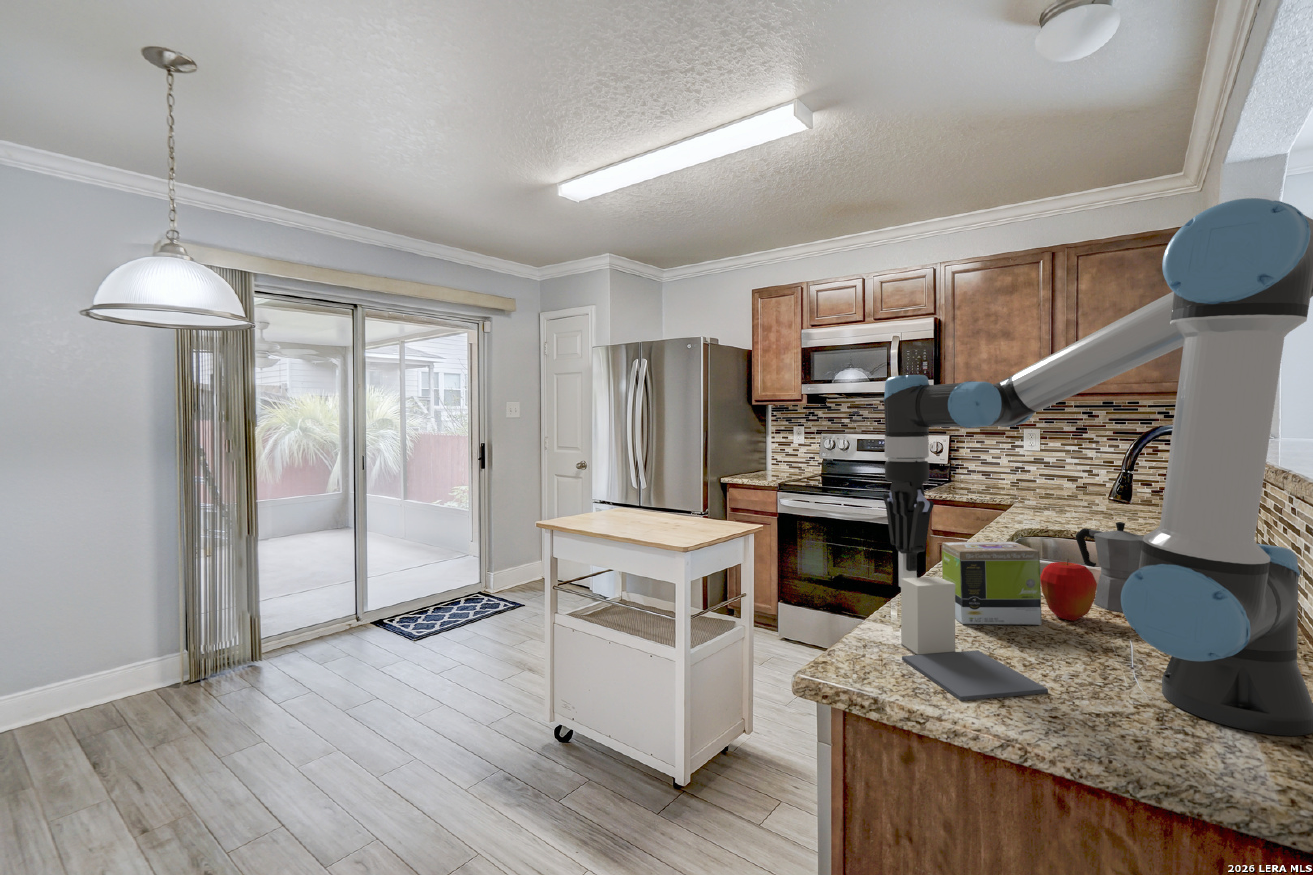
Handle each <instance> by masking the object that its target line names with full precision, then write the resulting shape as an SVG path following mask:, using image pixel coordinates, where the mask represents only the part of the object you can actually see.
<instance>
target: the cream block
mask: <svg viewBox="0 0 1313 875" xmlns="http://www.w3.org/2000/svg"><path fill="white" fill-rule="evenodd" d="M900 610H901V611H900V617H901V618H900V620H901V621H900V624H901V628H900V629H901V632H900V633H901V634H900V636H901V640H900V641H901V642H900V644H901V646H902V648H905V649H906V650H907V651H909V652H911V653H913V655H923V654H936V653H949V652H956V619H955V584H954V583H952V582H950V581H947V580H945V579H943V577H940V576H921V577H917V578H901V587H900Z"/></svg>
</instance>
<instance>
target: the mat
mask: <svg viewBox="0 0 1313 875" xmlns="http://www.w3.org/2000/svg"><path fill="white" fill-rule="evenodd" d="M901 660H902V662H905V663H906V664H907V665H909V666H910V667H912V668H914V669H915V670H916V671H917V672H919V673H920V674H921V675H924V676H925V677H926V678H927V679H929V680H930V681H932V682H933V683H935V684H936V685H938V686H939V687H941V689H943V690H944V691H946V692H947V693H948V694H950V695H952V697H954V698H956V699H957V700H959V701H961V702H963V701H973V700H984V699H986V700H987V699H996V698H1005V697H1006V698H1007V697H1008V698H1009V697H1019V696H1028V695H1037V694H1039V695H1040V694H1048V693H1049V688H1048V687H1045V685H1042V684H1041V683H1039V682H1036V681H1035V680H1033V679H1031V678H1029V677H1027V676H1026V675H1024V674H1022V673H1020V672H1018V671H1017V670H1015V669H1013V668H1011V667H1009V666H1008V665H1006V664H1004V663H1002V662H1001V661H998V660H996V659H994V658H993V657H991V656H989V655H988V654H986V653H983V652H981V651H980V650H976V649H975V650H966V651H965V650H964V651H955V652H949V653H936V654H923V655H915V654H912V655H901Z"/></svg>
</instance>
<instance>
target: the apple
mask: <svg viewBox="0 0 1313 875" xmlns="http://www.w3.org/2000/svg"><path fill="white" fill-rule="evenodd" d="M1040 581H1041V592H1042V593H1041V594H1042V595H1043V597H1044V599H1045V602H1046V604H1047V607H1048V609H1049V610H1050V611H1051V612H1052V613H1053V614H1054V615H1055V616H1056V617H1058V618H1060V619H1062V620H1067V621H1077V620H1080V619H1081V618H1083V617H1084V616H1086V615H1088V614H1089V612H1090V610H1091V608H1092V606H1093V603H1094V601H1095V596H1096V591H1097V587H1098V583H1097V581H1096V579H1095V576H1094V574H1093V572H1092V571H1091V570H1090V569H1089V568H1088V567H1087V565H1086V566H1085V565H1082V564H1080V563H1073V562H1069V558H1067V561H1053V562H1050V563H1049V564H1047V565H1046V566H1045V567H1044V568H1043V569H1042V571H1041V572H1040Z"/></svg>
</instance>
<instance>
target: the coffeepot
mask: <svg viewBox="0 0 1313 875" xmlns="http://www.w3.org/2000/svg"><path fill="white" fill-rule="evenodd" d="M1115 526H1116V530H1110V531H1102V530H1097V529H1091V528H1086V527H1084V528H1081V529H1080V530H1079V531H1078V532H1077V533H1076V534H1075V541H1076V543H1077V545H1078V549H1079V552H1080V554H1081V556H1082V560H1083V563H1084V566H1085V565H1086V567H1087V566H1088V567H1093V568H1095V567H1096V566H1097V563H1096V562H1093V561H1091V559H1090V552H1089V550H1088V547H1087V543H1086V539H1085V538H1090V539H1092V540H1094V543H1095V549H1096V556H1097V560H1098V566H1100V573H1099V577H1098V583H1097V588H1096V594H1095V599H1094V601H1093V603H1094V605H1095V606H1097V607H1098V608H1101V609H1104V610H1107V611H1111V612H1117V613H1123V610H1122V606H1121V591H1122V588H1123V586H1124V584H1125V582H1126V581H1127V579H1128V578H1129V576H1130V575H1131V574H1132V573H1134V572H1135V571H1137V570H1139V563H1140V556H1141V548H1142V541H1143V537H1144V535H1139V534H1136V533H1133V532H1129V531H1125V526H1126V523H1125V522H1122V521H1119V522H1115Z"/></svg>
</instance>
